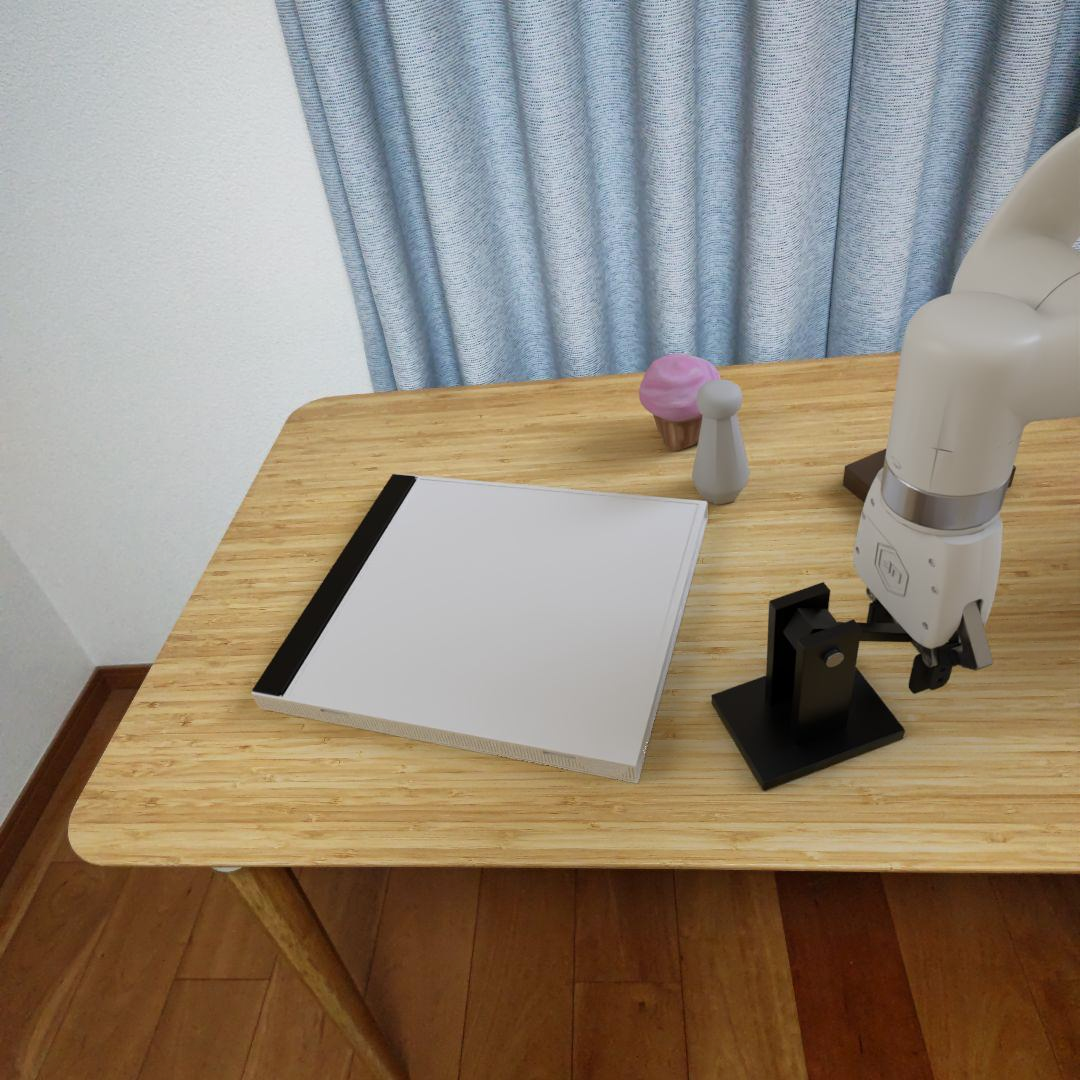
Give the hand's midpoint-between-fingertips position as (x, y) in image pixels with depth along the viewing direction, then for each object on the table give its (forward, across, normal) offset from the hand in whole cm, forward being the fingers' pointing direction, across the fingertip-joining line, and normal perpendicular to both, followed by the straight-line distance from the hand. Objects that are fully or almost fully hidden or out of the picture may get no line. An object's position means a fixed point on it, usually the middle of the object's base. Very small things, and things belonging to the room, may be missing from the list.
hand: (905, 656), depth 71 cm
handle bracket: (+4, 0, -9) cm, 9 cm away
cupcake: (+4, -39, -2) cm, 39 cm away
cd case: (+4, -23, -28) cm, 36 cm away
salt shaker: (+4, -28, -2) cm, 29 cm away
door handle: (-4, 0, -5) cm, 7 cm away
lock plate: (+4, -20, +16) cm, 26 cm away
